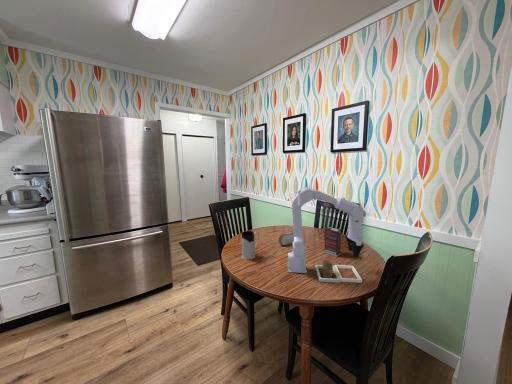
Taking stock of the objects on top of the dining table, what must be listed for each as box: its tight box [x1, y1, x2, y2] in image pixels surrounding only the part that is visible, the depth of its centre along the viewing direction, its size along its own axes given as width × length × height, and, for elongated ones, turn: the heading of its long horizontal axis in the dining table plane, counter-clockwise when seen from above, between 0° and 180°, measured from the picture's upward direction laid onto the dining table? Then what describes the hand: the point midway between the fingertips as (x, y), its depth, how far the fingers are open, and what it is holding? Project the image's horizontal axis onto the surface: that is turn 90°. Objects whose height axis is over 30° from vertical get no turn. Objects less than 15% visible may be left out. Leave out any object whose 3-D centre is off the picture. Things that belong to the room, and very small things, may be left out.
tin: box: [278, 230, 294, 246], centre depth 146 cm, size 15×3×8 cm, turn 120°
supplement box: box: [324, 226, 342, 257], centre depth 129 cm, size 9×5×16 cm, turn 40°
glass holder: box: [241, 230, 260, 260], centre depth 129 cm, size 9×14×15 cm, turn 137°
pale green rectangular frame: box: [314, 264, 341, 284], centre depth 105 cm, size 10×14×2 cm
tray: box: [333, 264, 363, 284], centre depth 105 cm, size 10×14×2 cm
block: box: [321, 259, 333, 278], centre depth 105 cm, size 4×4×7 cm
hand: (353, 253), depth 106 cm, fingers open, 7 cm apart
